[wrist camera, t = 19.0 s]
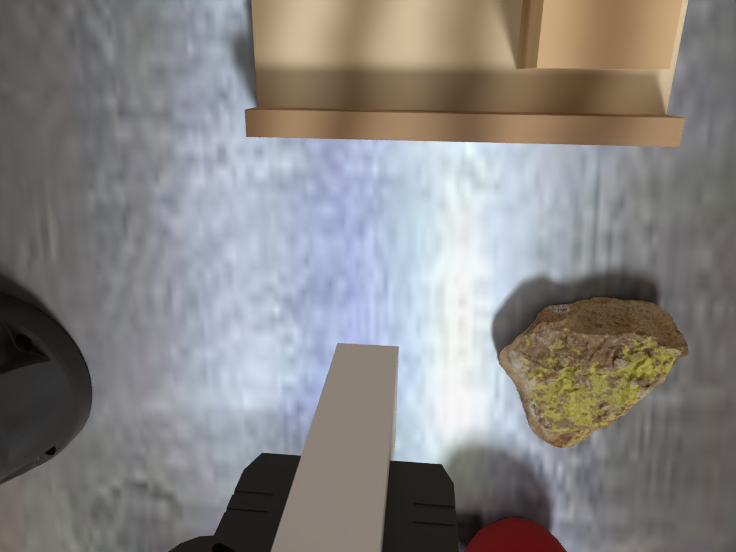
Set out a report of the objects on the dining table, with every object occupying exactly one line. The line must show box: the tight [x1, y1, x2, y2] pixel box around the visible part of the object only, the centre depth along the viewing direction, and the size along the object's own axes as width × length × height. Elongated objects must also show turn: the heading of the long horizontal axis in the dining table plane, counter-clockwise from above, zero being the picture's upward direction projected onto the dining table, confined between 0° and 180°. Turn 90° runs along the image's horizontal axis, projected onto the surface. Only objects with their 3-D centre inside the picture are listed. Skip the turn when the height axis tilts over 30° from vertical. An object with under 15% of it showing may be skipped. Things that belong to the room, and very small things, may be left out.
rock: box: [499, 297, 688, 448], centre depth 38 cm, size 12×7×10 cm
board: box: [245, 0, 688, 147], centre depth 31 cm, size 24×12×4 cm, turn 89°
